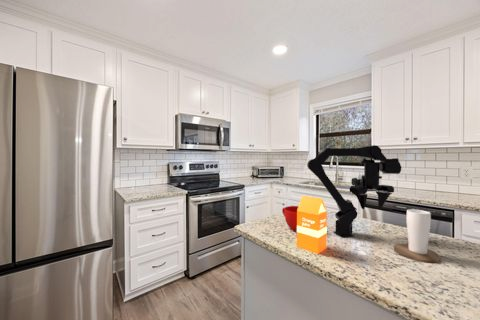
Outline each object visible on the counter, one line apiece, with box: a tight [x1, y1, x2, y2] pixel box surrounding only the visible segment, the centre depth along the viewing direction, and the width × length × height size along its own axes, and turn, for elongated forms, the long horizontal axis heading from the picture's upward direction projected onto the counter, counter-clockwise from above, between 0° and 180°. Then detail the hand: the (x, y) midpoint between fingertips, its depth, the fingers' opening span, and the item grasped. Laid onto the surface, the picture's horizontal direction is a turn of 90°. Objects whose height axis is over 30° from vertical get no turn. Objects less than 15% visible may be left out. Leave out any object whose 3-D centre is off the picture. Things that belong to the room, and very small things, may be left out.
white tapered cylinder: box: [405, 208, 432, 255], centre depth 76 cm, size 7×7×15 cm
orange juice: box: [296, 195, 328, 255], centre depth 81 cm, size 8×9×20 cm
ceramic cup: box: [281, 205, 299, 232], centre depth 104 cm, size 13×17×10 cm
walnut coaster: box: [393, 243, 441, 264], centre depth 76 cm, size 13×13×1 cm
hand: (371, 208), depth 92 cm, fingers open, 9 cm apart
